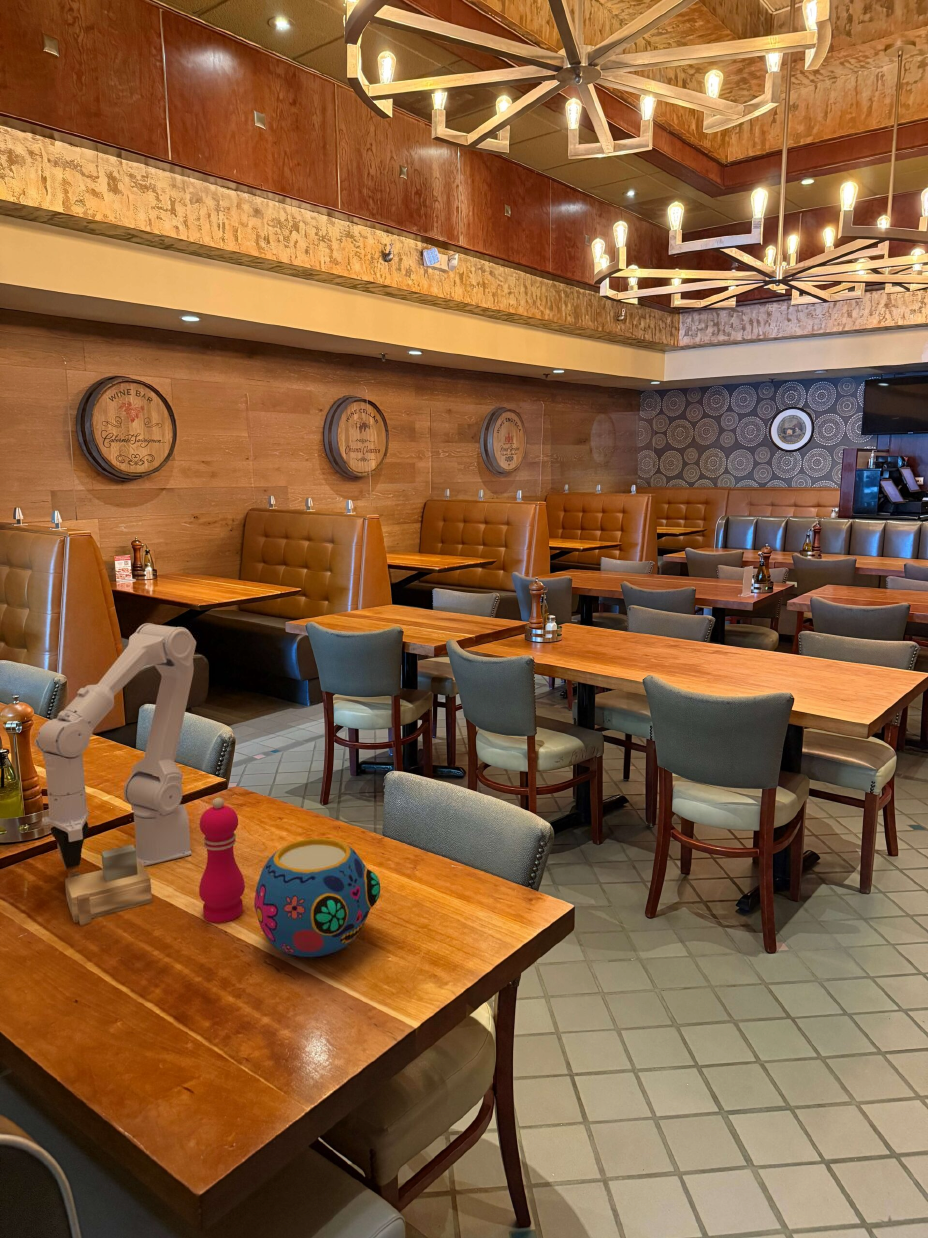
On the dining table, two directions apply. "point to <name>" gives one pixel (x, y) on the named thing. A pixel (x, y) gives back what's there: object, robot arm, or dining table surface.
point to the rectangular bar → (63, 861)
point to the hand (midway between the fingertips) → (72, 865)
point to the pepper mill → (220, 865)
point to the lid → (110, 874)
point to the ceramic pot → (314, 897)
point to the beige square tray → (106, 902)
